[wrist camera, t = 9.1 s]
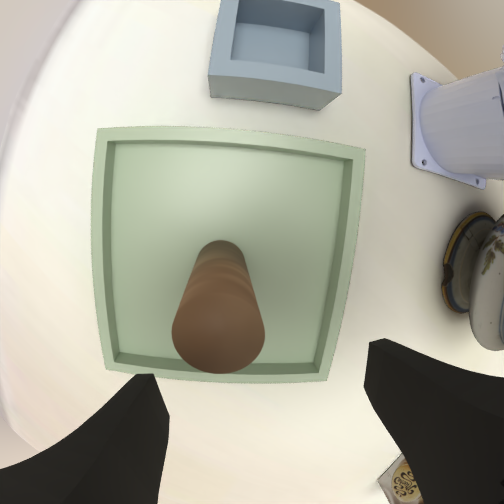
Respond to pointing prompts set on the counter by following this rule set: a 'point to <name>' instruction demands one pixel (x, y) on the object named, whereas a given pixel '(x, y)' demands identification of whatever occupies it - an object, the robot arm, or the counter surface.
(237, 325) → the dowel
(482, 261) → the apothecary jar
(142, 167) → the tray
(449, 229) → the counter surface
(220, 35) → the blue-grey square socket
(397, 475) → the cookie box
